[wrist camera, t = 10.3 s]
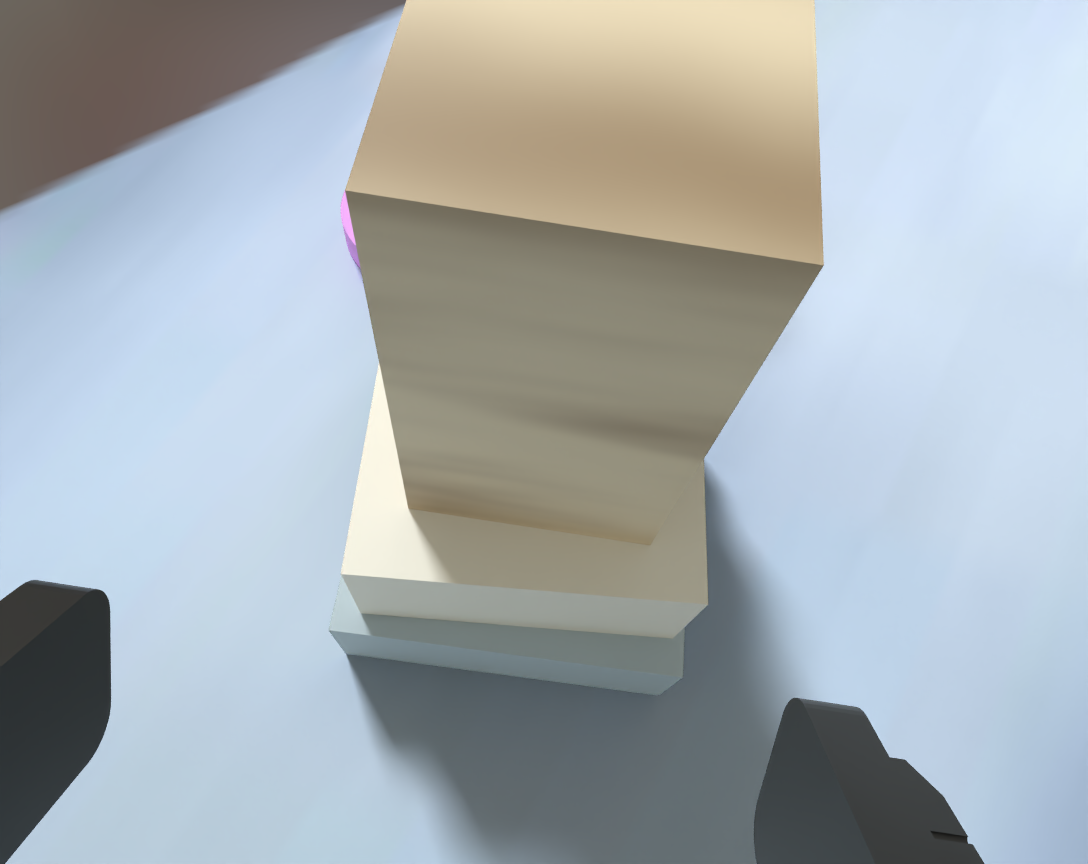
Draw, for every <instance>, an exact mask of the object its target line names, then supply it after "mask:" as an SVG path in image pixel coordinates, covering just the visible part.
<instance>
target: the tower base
mask: <svg viewBox="0 0 1088 864" xmlns="http://www.w3.org/2000/svg"><path fill="white" fill-rule="evenodd" d="M329 631H330V633H331V634H332V636H333V637H334V638H335V640H336V641H337V642H338V644H339V645H340V647H341V648H342V649H343V651H344V652H345V653H346V654H350V655H358V656H365V657H373V658H380V659H388V660H395V661H403V662H410V663H417V664H425V665H432V666H440V667H447V668H455V669H462V670H470V671H477V672H485V673H492V674H500V675H507V676H514V677H522V678H529V679H537V680H544V681H552V682H559V683H567V684H574V685H582V686H589V687H597V688H604V689H612V690H619V691H626V692H634V693H641V694H649V695H656V696H659V695H660V694H662V693H663V692H664V691H666V690H667V689H668V688H670V687H671V686H672V685H674V684H675V683H676V682H678V681H679V680H681V679H682V678H683V664H684V636H685V627H684V628H683V629H682V630H681V631H680V632H679V633H678V634H677V635H676V636H675V637H674V638H673V639H671V638H659V637H646V636H634V635H621V634H609V633H597V632H584V631H572V630H559V629H547V628H534V627H522V626H509V625H497V624H485V623H473V622H460V621H448V620H436V619H423V618H411V617H399V616H387V615H374V614H362V613H360V611H359V609H358V607H357V605H356V603H355V601H354V599H353V597H352V595H351V593H350V591H349V589H348V587H347V585H346V583H345V581H344V579H343V578H342V576H341V579H340V584H339V588H338V592H337V596H336V600H335V605H334V609H333V613H332V617H331V621H330V626H329Z"/></svg>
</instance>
